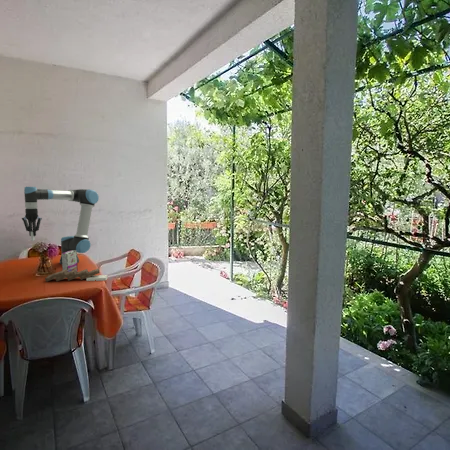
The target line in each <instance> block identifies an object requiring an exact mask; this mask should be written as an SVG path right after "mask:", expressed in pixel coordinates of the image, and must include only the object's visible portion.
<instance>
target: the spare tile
mask: <svg viewBox="0 0 450 450" xmlns="http://www.w3.org/2000/svg"><path fill="white" fill-rule="evenodd" d="M108 277H109V276H108V274H105V275H103V274H100V275H99V274H96V275H93V276H90V277H88V278H85V279H86V282H89V281H90V282H95V280H96V281H102V282H103V281H107V280H108Z"/></svg>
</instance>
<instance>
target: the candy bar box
mask: <svg viewBox="0 0 450 450" xmlns="http://www.w3.org/2000/svg"><path fill="white" fill-rule="evenodd" d="M77 253H78V252H77V251H73V250H72V251H68V252H65V253H62V252H61V255H62V264H61V266H62V271H63V270H66V269H67V271H68V272H70V271H73V270H75V269H76V270H77V272H79V270H78V263H77V256H78V254H77Z"/></svg>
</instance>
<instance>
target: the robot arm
mask: <svg viewBox="0 0 450 450" xmlns="http://www.w3.org/2000/svg"><path fill="white" fill-rule="evenodd" d="M23 193H24V208H25V211H24V212H25V215H24V216H23V217H21V220H22V221H23V224H24V227H25V228H24V229H25V231H26V232H29V233H28V234H29V237H30V241H31V242H34V241H36V236H37V232H38V231H39V230H40V226H41V221H42V220H43V218H42V217H40V216H39V215H38V213H39V212H38V210H39V209H38V200H39V201H41V200H43V201H44V200H45V201H46V200H47V201H48V200H62V201H63V200H64V201H68V202H75V203H79V206H80V212H79V217H78V224H77V229H76V234H74V235H69V236H63V237H61V238H60V247H61V250H60V251H61V255H60V259H59V264H60V265H62V253H65V252H68V251H72V250H73V251H77V253H78V254H85V253H87V252H88V251H89V250H90V249H91V245H92V244H91V241H90V240H89V238H90V237H89V235H88V233H89V228H90V222H91V217H92V211H93V208H94V207H95V204H97V203H98V202H99V200H100V199H99V197H100V196H99V194H98V192H97V191H96V190H94V189H84V188H83V189H82V188H81V189H80V188H79V189H68V190H56V189H55V190H54V189H49V188H48V189H43V188H42V189H40V188H37V186H25V187H24V191H23ZM78 263H80V259H79V256H78V255H77V264H78Z"/></svg>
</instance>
